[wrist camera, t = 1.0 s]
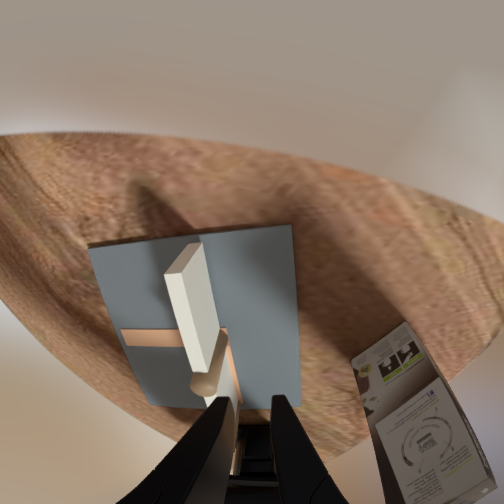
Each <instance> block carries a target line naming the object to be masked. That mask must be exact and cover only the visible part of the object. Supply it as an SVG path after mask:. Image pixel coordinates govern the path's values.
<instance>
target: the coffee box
mask: <svg viewBox="0 0 504 504" xmlns="http://www.w3.org/2000/svg"><path fill="white" fill-rule="evenodd" d="M351 365H352V368H353V371H354V375H355V378H356V382H357V385H358V389H359V392H360V396H361V400H362V403H363V407H364V410H365V414H366V418H367V422H368V426H369V430H370V434H371V438H372V442H373V446H374V450H375V454H376V459H377V463H378V468H379V473H380V477H381V482H382V487H383V492H384V497H385V502H386V504H474V503H475V502H476V501H478V500H479V499H481V498H482V497H484V496H485V495H487V494H489V493H490V492H492V491H493V490H495V489H496V488H498V486H497V483H496V481H495V478H494V475H493V473H492V471H491V468H490V466H489V463H488V461H487V459H486V456H485V454H484V452H483V450H482V448H481V445H480V443H479V441H478V439H477V437H476V435H475V433H474V431H473V429H472V427H471V425H470V423H469V421H468V419H467V417H466V415H465V413H464V411H463V409H462V407H461V406H460V404H459V402H458V400H457V398H456V397H455V395H454V393H453V391H452V390H451V388H450V386H449V384H448V383H447V381H446V379H445V378H444V376H443V374H442V373H441V371H440V369H439V368H438V366H437V365H436V363H435V362H434V360H433V359H432V357H431V356H430V354H429V353H428V351H427V350H426V348H425V347H424V346H423V344H422V343H421V341H420V340H419V338H418V337H417V335H416V334H415V333H414V331H413V330H412V328H411V327H410V326H409V324H408V323H407V322H403V323H402V324H401V325H399V326H398V327H397V328H396V329H394V330H393V331H392V332H390V333H389V334H388V335H386V336H385V337H383V338H382V339H381V340H379V341H378V342H377V343H375V344H374V345H372V346H371V347H369V348H368V349H367V350H365V351H364V352H362V353H361V354H359V355H358V356H356V357H355V358H353V359H352V361H351Z"/></svg>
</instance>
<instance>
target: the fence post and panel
mask: <svg viewBox="0 0 504 504" xmlns="http://www.w3.org/2000/svg"><path fill="white" fill-rule="evenodd" d="M227 342H228V336H227V334H226V333H225V332H224V331H223V330H219V334H218V337H217V341H216V345H215V348H214V352H213V356H212V359H211V363H210V367H209V370H208V373H201V372H194V373H193V376H192V379H191V382H190V389H191V390H192V391H193V392H194V393H195V394H197V395H199V396H202V397H204V399H205V402H206V405H207V407H208V406H209V405H210V404H211V403H212V402H213V400H214V399H215V398H216V397H218V396H229V397H230V398H231V401H232V405H233V408H234V412H235V425H234V446H233V453H234V452H235V445H236V438H237V430H238V423H239V415H240V407H241V402H240V401H239V400H238V398H237V394H236V390H235V386H234V382H233V378H232V374H231V369H230V365H229V361H228V357H227V352H226V347H227Z"/></svg>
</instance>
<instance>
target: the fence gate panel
mask: <svg viewBox="0 0 504 504" xmlns="http://www.w3.org/2000/svg"><path fill="white" fill-rule="evenodd" d="M164 277H165V281H166V285H167V288H168V292H169V296H170V299H171V303H172V307H173V310H174V314H175V317H176V320H177V324H178V327H179V331H180V334H181V337H182V340H183V343H184V347H185V350H186V353H187V356H188V359H189V362H190V365H191V368H192V371H193V372H201V373H208V370H209V367H210V363H211V359H212V356H213V352H214V348H215V345H216V341H217V337H218V334H219V330H220V326H219V322H218V317H217V313H216V308H215V303H214V298H213V294H212V289H211V284H210V279H209V274H208V269H207V264H206V259H205V253H204V248H203V243H202V242H200V243H191V244H188V245H187V246H186V247H185V249H184V250H183V251H182V252H181V254H180V255H179V256H178V257H177V259H176V260H175V261H174V262H173V264H172V265H171V266H170V267H169V269H168V270H167V271H166V272H165V274H164Z"/></svg>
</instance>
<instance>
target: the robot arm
mask: <svg viewBox="0 0 504 504" xmlns="http://www.w3.org/2000/svg"><path fill="white" fill-rule="evenodd" d="M234 425H235V412H234V408H233V405H232V401H231V398H230V397H229V396H218V397H216V398H215V399H214V400H213V402H212V403H211V404H210V405H209V406H208V408H207V409H206V410H205V411H204V412H203V414H202V415H201V416H200V417H199V418H198V420H197V421H196V422H195V423H194V424H193V425H192V427H191V428H190V429H189V430H188V431H187V432H186V434H185V435H184V436H183V437H182V438H181V439H180V441H179V442H178V443H177V444H176V445H175V446H174V447H173V449H172V450H171V451H170V452H169V453H168V454H167V455H166V456H165V457H164V459H163V460H162V461H161V462H160V463H159V464H158V465H157V466H156V467H155V470H152V471H151V473H150V474H149V475H148V476H147V477H146V478H145V479H144V480H143V481H142V482H141V483H140V484H139V485H138V486H137V487H135V488H134V489H133V490H132V491H131V492H130V493H128V494H127V495H126V496H125V497H123V498H122V499H121V500H120V501H118V502H117V503H116V504H349V503H348V502H347V500H346V499H345V498H344V496H343V495H342V494H341V492H340V490H339V489H338V487H337V486H336V484H335V483H334V481H333V479H332V477H331V476H330V475H329V474H328V471H327V469H326V467H325V466H324V464H323V462H322V460H321V459H320V457H319V455H318V453H317V452H316V450H315V448H314V446H313V445H312V443H311V441H310V439H309V437H308V436H307V434H306V432H305V430H304V428H303V427H302V425H301V423H300V421H299V419H298V417H297V416H296V414H295V412H294V410H293V408H292V406H291V405H290V403H289V401H288V399H287V397H286V396H285V395H284V394H279V395H272V397H271V414H270V425H250V426H238V430H237V438H236V445H235V447H236V454H235V462H234V470H233V475H230V470H231V465H232V459H233V446H234Z"/></svg>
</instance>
